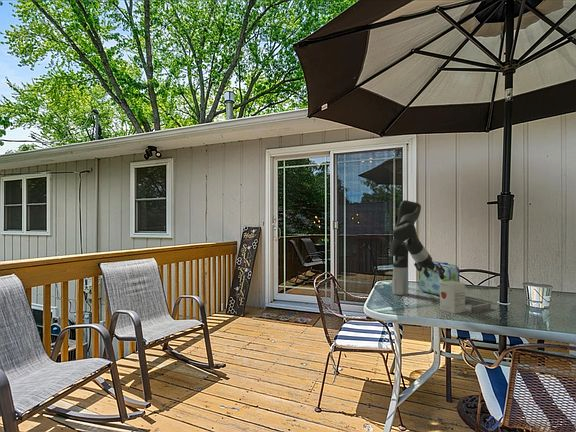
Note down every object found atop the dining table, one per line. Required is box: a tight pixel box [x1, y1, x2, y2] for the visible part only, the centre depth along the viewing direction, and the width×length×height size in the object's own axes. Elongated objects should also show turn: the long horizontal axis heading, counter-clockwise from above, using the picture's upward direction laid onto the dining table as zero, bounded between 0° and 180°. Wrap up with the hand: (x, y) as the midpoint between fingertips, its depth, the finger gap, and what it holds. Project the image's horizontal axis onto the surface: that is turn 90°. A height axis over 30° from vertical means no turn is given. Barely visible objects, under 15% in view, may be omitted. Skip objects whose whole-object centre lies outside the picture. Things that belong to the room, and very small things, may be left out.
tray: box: [465, 297, 492, 314], centre depth 188 cm, size 16×16×3 cm
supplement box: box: [439, 281, 466, 314], centre depth 181 cm, size 9×9×15 cm
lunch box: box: [418, 260, 461, 297], centre depth 220 cm, size 26×11×21 cm, turn 25°
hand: (435, 277), depth 174 cm, fingers open, 8 cm apart
